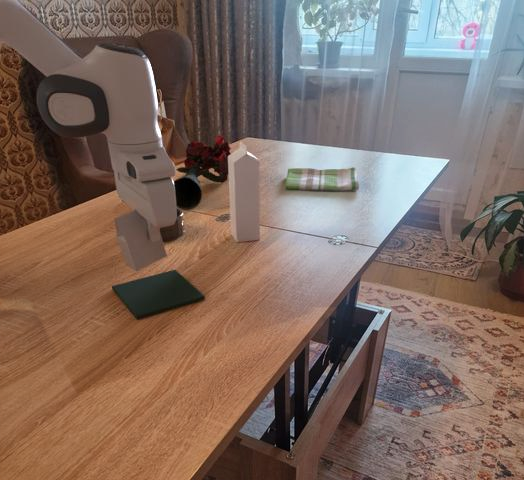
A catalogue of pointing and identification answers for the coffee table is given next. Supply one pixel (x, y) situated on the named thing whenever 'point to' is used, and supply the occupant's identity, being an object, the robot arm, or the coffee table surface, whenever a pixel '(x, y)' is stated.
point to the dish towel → (322, 179)
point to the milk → (244, 195)
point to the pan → (173, 228)
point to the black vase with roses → (201, 171)
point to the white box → (137, 241)
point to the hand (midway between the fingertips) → (148, 235)
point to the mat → (157, 294)
